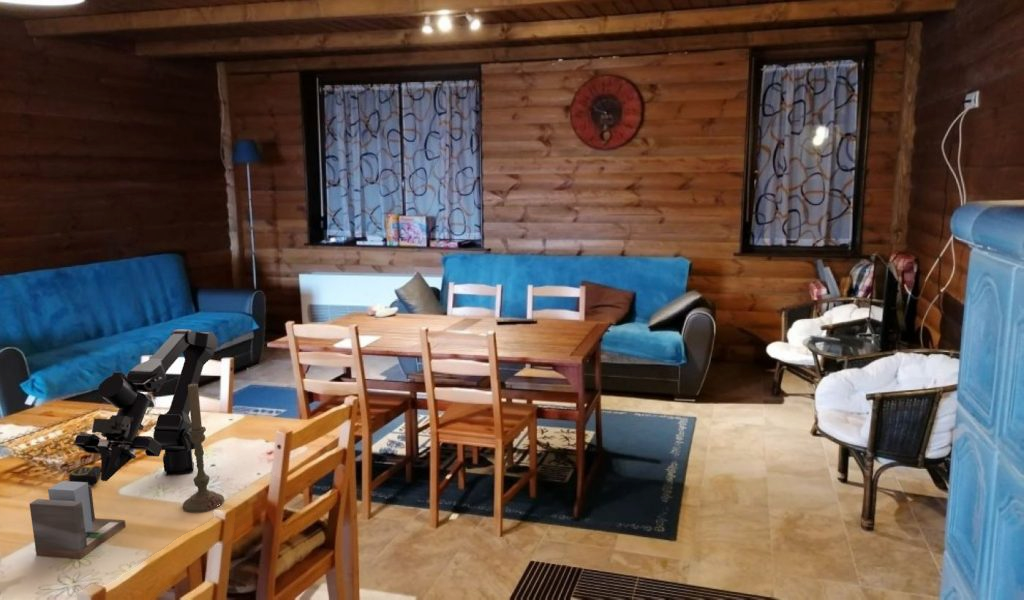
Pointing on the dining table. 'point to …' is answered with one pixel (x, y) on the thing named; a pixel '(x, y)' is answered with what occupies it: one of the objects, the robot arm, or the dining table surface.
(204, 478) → the candlestick holder
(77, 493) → the block
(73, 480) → the tape measure
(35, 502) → the base
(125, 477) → the dining table surface
